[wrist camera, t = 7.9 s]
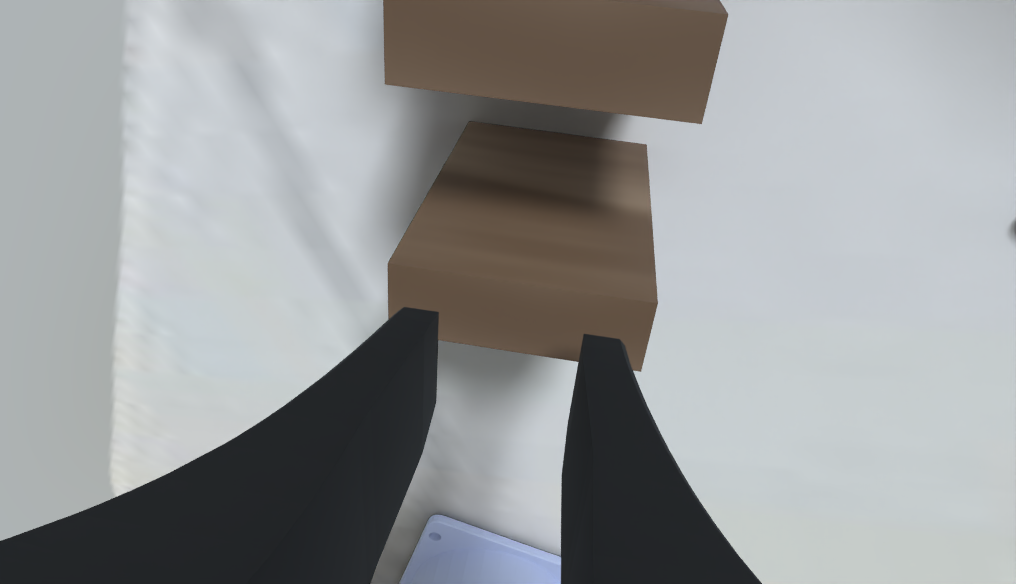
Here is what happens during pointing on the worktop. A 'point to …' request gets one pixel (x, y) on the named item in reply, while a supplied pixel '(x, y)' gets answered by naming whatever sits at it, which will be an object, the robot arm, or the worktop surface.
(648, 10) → the domino
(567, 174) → the domino
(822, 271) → the worktop surface
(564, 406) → the worktop surface
